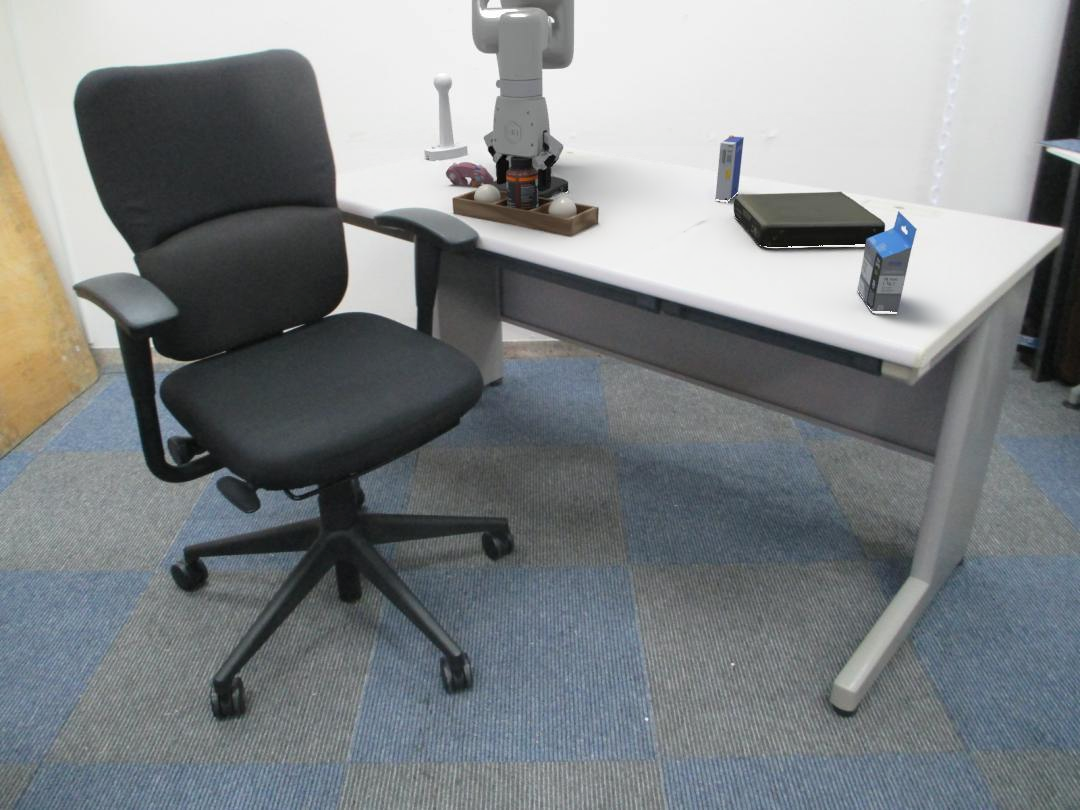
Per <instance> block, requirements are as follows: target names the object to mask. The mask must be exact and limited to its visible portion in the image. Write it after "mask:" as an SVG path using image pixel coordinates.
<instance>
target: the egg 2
mask: <svg viewBox="0 0 1080 810" xmlns="http://www.w3.org/2000/svg"><path fill="white" fill-rule="evenodd" d="M574 203H575V202H574V201H573V200H572V199H571V198H568V197H567V196H566V197H565V196H560V197H556V198H555V199H554V200H553V201H552V203H551V204H550V206H549V211H548V213H549V214H550V215H555V216H561V217H566V218H570V217H572V216H574V215H576V214H577V209H576V206H575V204H574Z"/></svg>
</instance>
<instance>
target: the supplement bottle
mask: <svg viewBox="0 0 1080 810" xmlns="http://www.w3.org/2000/svg"><path fill="white" fill-rule="evenodd" d="M532 163H533V162H532V158H524V157H517V156H513V157H511V167H510V168H509V169H508V170H507V172H506V184H507V207H512V208H517V209H523V210H528V211H529V210H531V209H534V208H536V207H539V206H538V172H537V170H536V169H535V168H533V165H532Z"/></svg>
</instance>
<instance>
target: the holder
mask: <svg viewBox="0 0 1080 810" xmlns="http://www.w3.org/2000/svg"><path fill="white" fill-rule="evenodd" d="M476 190H477V189H475V190H471V191H469V192H467V193H464V194H460V195H457V196H454V197H452V211H453V212H452V213H453V214H454V215H458V216H463V217H464V216H465V217H467V218H474V219H479V220H484V221H488V222H494V223H499V224H504V225H509V226H514V227H519V228H520V227H521V228H525V229H529V230H535V231H540V232H544V233H545V232H546V233H550V234H556V235H561V236H564V237H570V238H571V237H573V236H574V235H576V234H578V233H580V232H582V231H585V230H587V229H589V228H592V227H595V226H596V225H598V224H599V213H600V207H598V206H593V205H590V204H589V205H588V204H583V203H576V202H574V204H575V206H576V209H577V214H576V215H574V216H572V217H570V218H566V217H561V216H555V215H550V214H549V213H548V211H549V206H550V204H551V203H552V201H553V200H555V199H553V198H552V199H551V198H542V197H538V206H539V207H536V208H534V209H531V210H529V211H528V210H523V209H517V208H512V207H507V191H501V190H499V192H500V195H501V200H499V201H497V202H494V203H491V204H490V203H485V202H479V201H474V194H475V192H476Z"/></svg>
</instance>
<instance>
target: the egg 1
mask: <svg viewBox="0 0 1080 810" xmlns="http://www.w3.org/2000/svg"><path fill="white" fill-rule="evenodd" d="M475 190H476V192H475V194H474V201H479V202H485V203H490V204H491V203H494V202H497V201H499V200H501V195H500V192H499V190H498V189H497V188H496V187H495V186H493V185H490V184H485V185H484V184H481V185H480V186H478V188H476V189H475Z"/></svg>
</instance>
